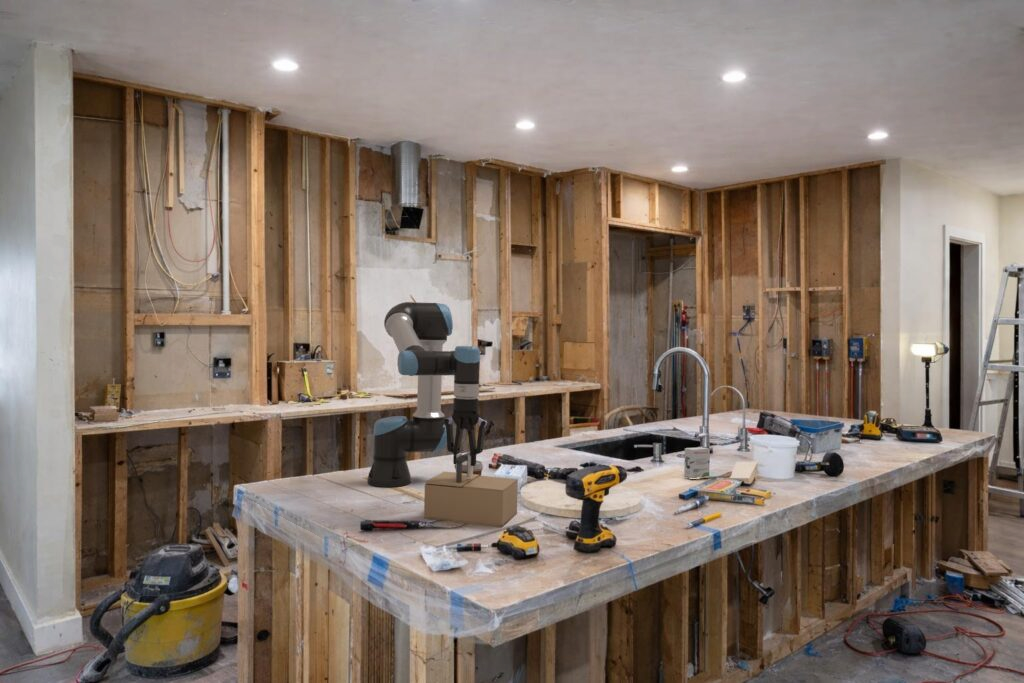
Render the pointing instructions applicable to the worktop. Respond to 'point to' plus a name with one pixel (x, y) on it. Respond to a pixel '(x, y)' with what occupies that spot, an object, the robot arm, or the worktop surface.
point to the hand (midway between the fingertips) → (464, 475)
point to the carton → (473, 501)
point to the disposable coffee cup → (476, 469)
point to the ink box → (696, 462)
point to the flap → (454, 475)
